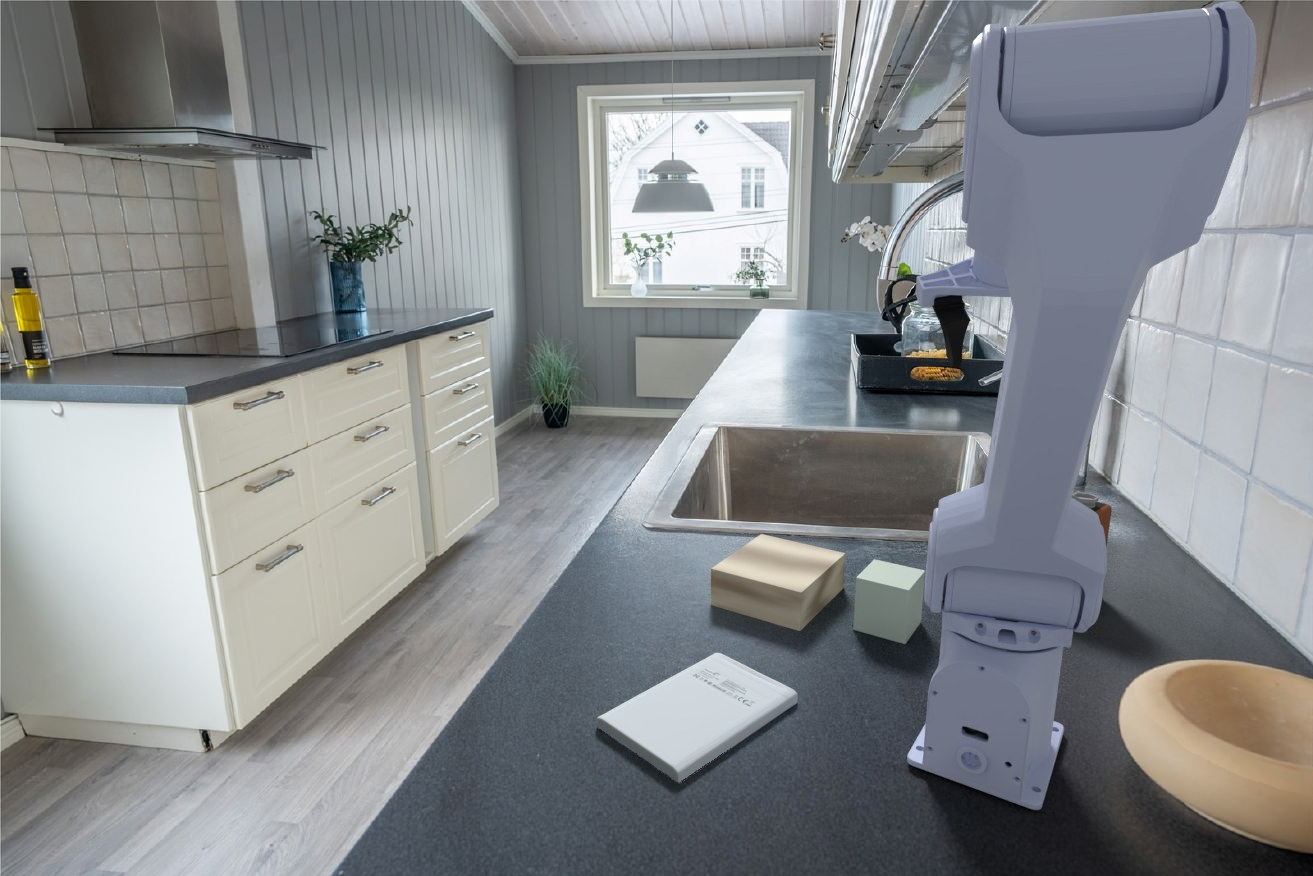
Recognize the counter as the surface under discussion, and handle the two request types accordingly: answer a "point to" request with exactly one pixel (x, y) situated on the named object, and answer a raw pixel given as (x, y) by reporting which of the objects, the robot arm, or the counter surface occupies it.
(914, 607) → the sage block
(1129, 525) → the counter surface
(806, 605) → the birch block
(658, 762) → the external hard drive
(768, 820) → the counter surface
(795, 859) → the counter surface
